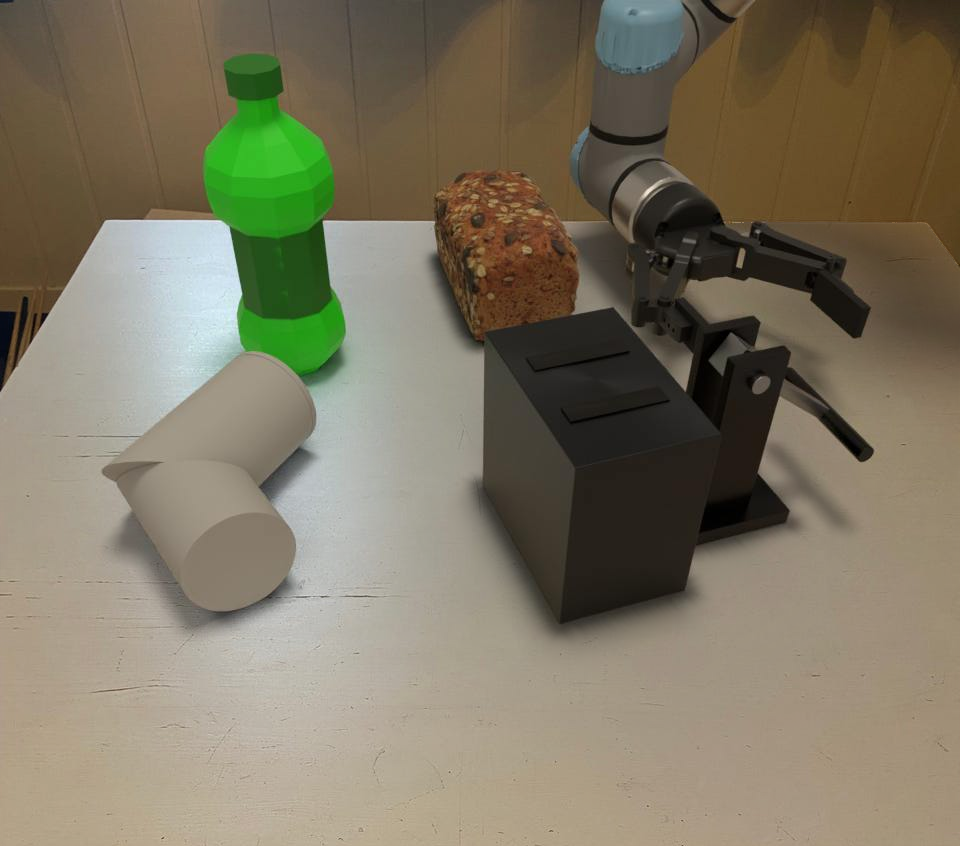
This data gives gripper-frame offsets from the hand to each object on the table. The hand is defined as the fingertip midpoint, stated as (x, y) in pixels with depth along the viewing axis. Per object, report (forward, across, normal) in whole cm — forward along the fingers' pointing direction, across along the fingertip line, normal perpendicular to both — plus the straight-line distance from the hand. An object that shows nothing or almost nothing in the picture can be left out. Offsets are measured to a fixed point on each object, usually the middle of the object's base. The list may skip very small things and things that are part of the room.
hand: (790, 339), depth 78 cm
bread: (-28, +14, -9) cm, 33 cm away
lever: (+7, +7, +1) cm, 10 cm away
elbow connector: (-4, +45, -9) cm, 46 cm away
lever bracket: (+7, +10, -8) cm, 15 cm away
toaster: (+7, +21, -8) cm, 24 cm away
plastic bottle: (-24, +36, -9) cm, 44 cm away
